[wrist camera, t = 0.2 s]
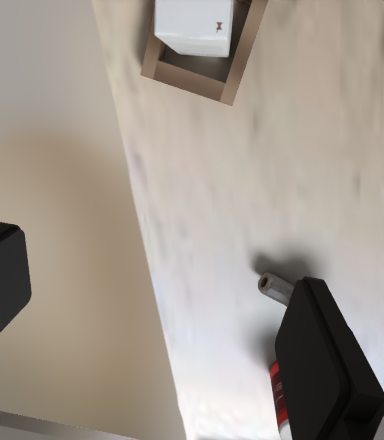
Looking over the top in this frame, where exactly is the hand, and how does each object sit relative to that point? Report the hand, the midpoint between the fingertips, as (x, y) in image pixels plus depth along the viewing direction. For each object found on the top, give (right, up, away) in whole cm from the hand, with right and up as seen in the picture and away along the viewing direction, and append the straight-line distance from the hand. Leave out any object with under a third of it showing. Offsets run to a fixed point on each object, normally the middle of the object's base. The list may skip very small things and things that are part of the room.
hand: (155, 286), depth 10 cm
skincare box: (+3, +23, +23) cm, 33 cm away
